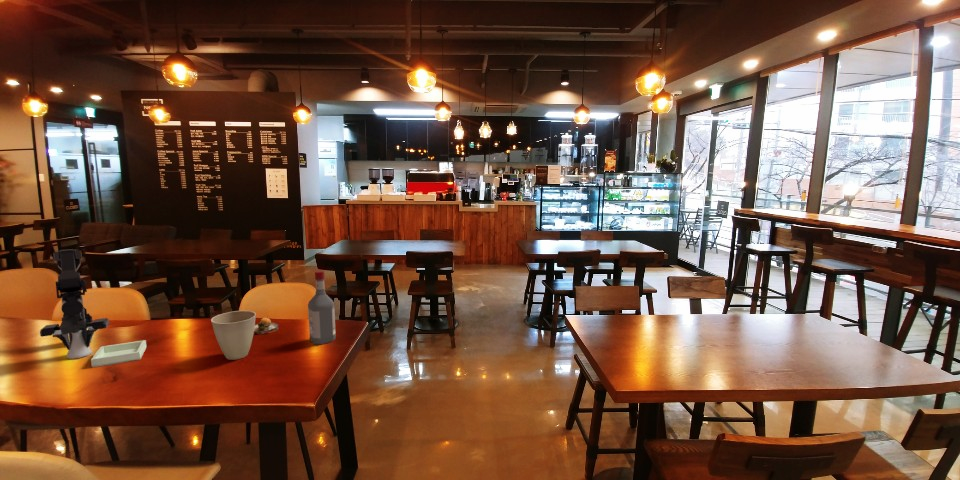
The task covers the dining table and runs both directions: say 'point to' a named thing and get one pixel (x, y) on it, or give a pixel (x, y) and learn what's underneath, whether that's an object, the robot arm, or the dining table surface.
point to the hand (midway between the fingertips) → (78, 348)
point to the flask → (78, 347)
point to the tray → (118, 353)
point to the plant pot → (234, 332)
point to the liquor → (321, 314)
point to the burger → (265, 326)
